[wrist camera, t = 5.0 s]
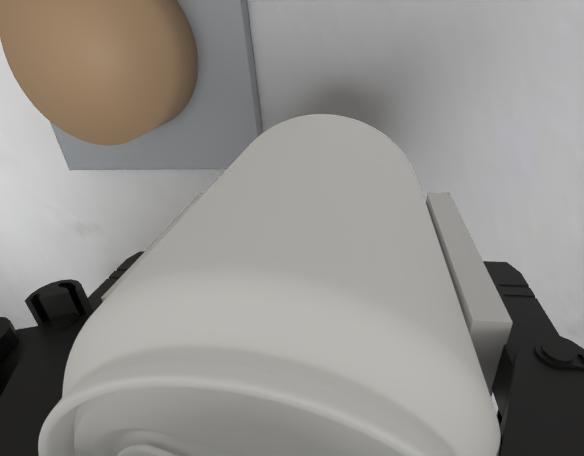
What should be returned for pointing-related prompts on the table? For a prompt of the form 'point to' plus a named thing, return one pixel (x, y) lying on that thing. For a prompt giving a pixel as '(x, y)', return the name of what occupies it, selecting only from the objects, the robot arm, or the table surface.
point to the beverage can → (285, 319)
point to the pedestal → (138, 79)
